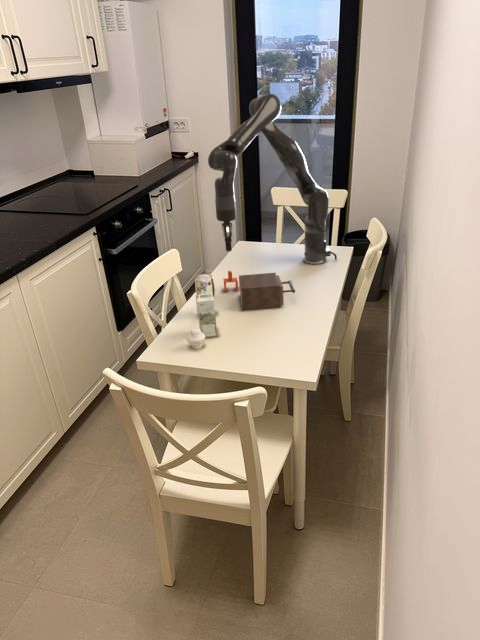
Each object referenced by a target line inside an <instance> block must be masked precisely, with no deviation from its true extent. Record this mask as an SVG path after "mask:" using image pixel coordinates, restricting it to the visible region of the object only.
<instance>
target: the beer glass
mask: <svg viewBox="0 0 480 640" xmlns="http://www.w3.org/2000/svg"><path fill="white" fill-rule="evenodd" d="M194 285H195V295H200V294H208V293H212V296H213V299H214V300H215V296H216V295H215V294H216V291H215V290H216V288H215V287H216V286H215V281H214V276H213V275H212V274H210V273H209V274H208V273H202V274H197V275H196V276H195V277H194ZM215 315H217V311H216V310H215Z"/></svg>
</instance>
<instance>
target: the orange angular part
mask: <svg viewBox="0 0 480 640" xmlns="http://www.w3.org/2000/svg"><path fill="white" fill-rule="evenodd" d="M227 283H235V291H236V292H239V279H238V277H233V271H232V270H227V278H223V289H224V293H227V291H228V290H227Z"/></svg>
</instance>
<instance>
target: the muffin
mask: <svg viewBox="0 0 480 640" xmlns="http://www.w3.org/2000/svg"><path fill="white" fill-rule="evenodd" d="M186 340H187V342H188V344H189V346H191V348H193V349H195V350H199V349H201V348H202V347H203V345H204V343H205V340H206V338H205V335H204V334H203V333H202V332H201V330H200V329H199V327H193V328H191V329H190V331H189V333H188V335H187V336H186Z"/></svg>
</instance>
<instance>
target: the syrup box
mask: <svg viewBox="0 0 480 640" xmlns="http://www.w3.org/2000/svg"><path fill="white" fill-rule="evenodd" d="M195 302H196V310H197V318H198V328H199V329H200V330H201V332H202V333H203V334H204V335H205V339H207V338H215V337H218V327H217V317H216V315H217V314H216V315H215V311H216V305H215V298H214V299H213V296H212V293H208V294H200V295H197V294H195Z"/></svg>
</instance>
